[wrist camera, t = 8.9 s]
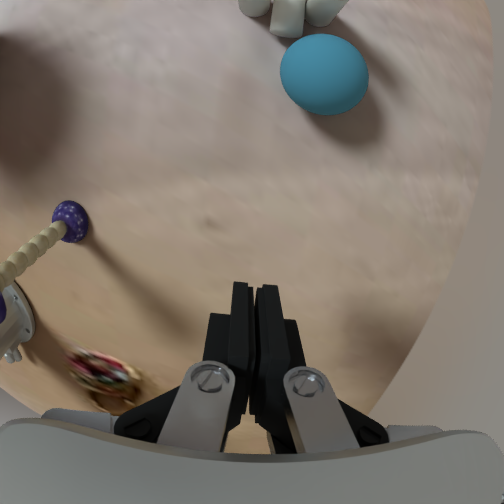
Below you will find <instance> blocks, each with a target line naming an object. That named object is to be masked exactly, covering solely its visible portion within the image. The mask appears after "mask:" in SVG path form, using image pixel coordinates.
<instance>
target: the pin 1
mask: <svg viewBox="0 0 504 504" xmlns="http://www.w3.org/2000/svg"><path fill="white" fill-rule="evenodd" d="M270 1H271V0H238V2H239V8H240V10H241V12H242V13H243V14H245V15H247V16H250V17H259V16H262V15H264V14H266V13H267V12H268V10H269V8H270Z"/></svg>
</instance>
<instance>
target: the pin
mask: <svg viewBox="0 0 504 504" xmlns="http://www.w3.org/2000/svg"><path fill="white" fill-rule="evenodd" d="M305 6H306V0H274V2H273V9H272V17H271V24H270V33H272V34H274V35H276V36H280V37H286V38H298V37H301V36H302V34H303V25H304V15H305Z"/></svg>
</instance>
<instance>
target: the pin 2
mask: <svg viewBox="0 0 504 504" xmlns="http://www.w3.org/2000/svg"><path fill="white" fill-rule="evenodd" d="M348 1H349V0H308V1H307V3H306V6H305V15H304V18H305V20H306V21H307V22H308V23H309V24H311V25H313V26H316V27H324V26H327V25H329V24H330V23H331V21H332V20H333V19H334V18H335V16H336V15H337V14H338V13H339V12H340V10H341V9H342V8H343V7H344V5H345V4H346V3H347V2H348Z"/></svg>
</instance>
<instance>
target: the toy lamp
mask: <svg viewBox="0 0 504 504" xmlns="http://www.w3.org/2000/svg"><path fill="white" fill-rule="evenodd" d="M87 231H88V219H87V215H86V213H85V211H84V209H83V208H82V207H81V206H80V205H79V204H77V203H76V202H74V201H64V202H62V203H60V204H59V205H58V206H57V207H56V209H55V211H54V213H53V216H52V224H51V225H50V226H49V227H48V228H45V229H44V230H42V231H41V232H40V234H39V235H36V236H34V237H33V238H32V239H31V240H30V241H29V243H26V244H24V245H23V246H22V247H21V248H20V249H19V251H18V252H15V253H13V254H12V255H10V257H9V258H8V259H7V261H5V262H2V263H1V264H0V324H1V323H2V322H3V321H4V320H5V318H6V314H7V313H6V312H7V308H6V304H5V300H4V298H3V295H2V292H3V290H4V288H5V287H8V286H10V285H11V284H12V283H13V282H14V280H15V278H16V277H17V276H20V275H21V274H22V273H23V272H24V271H25V270H26V268H27V267H29V266H31V265H32V264H34V263H35V261H36V260H37V258H38V257H41V256H42V255H44V254H45V253H46V251H47V249H49V248H51V247H52V246H53V245H54V244H55V243H56V241H59V240H60V239H61V240H62V241H64V242H68V243H75V242H78V241H80V240H82V239H83V238H84V237H85V236H86V234H87Z"/></svg>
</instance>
